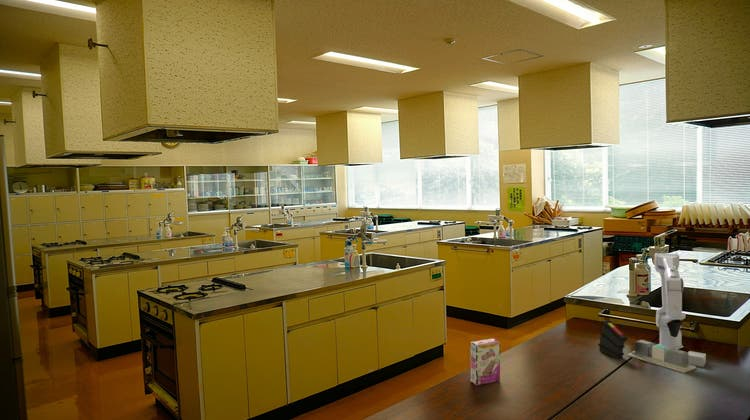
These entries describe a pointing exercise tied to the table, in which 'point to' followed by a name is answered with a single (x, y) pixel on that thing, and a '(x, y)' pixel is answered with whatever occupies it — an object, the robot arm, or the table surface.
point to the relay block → (696, 358)
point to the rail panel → (674, 360)
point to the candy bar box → (485, 361)
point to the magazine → (612, 340)
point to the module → (659, 352)
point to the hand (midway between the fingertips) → (673, 336)
